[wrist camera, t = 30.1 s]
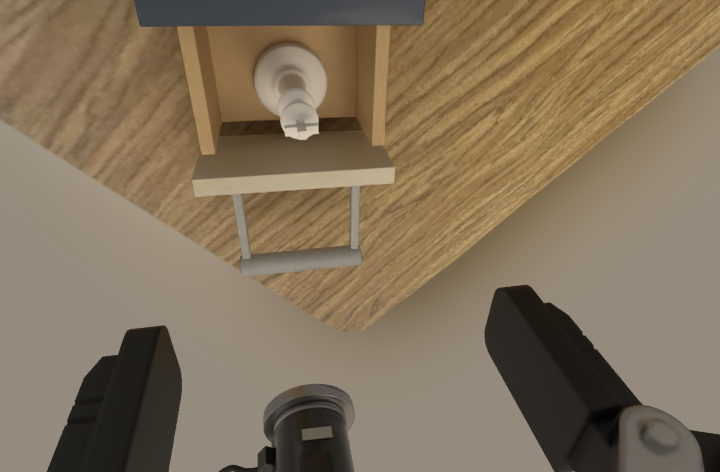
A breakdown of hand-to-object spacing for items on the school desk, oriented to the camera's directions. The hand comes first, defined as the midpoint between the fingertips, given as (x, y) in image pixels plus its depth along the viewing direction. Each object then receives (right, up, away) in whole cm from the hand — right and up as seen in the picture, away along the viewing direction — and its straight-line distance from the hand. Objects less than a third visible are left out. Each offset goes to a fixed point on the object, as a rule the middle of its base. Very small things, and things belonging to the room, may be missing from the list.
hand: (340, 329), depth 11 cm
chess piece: (-4, +13, +19) cm, 23 cm away
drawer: (-5, +12, +21) cm, 24 cm away
